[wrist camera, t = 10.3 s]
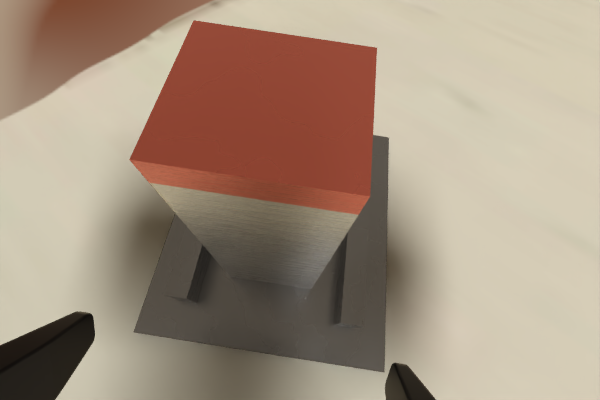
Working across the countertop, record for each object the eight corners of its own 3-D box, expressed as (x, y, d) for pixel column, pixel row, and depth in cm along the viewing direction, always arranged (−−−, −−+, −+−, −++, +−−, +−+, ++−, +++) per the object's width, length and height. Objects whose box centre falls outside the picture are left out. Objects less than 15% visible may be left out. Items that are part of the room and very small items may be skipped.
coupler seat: (382, 371, 17) (398, 377, 14) (136, 332, 17) (112, 331, 14) (387, 140, 23) (398, 118, 21) (212, 114, 23) (205, 89, 21)
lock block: (311, 289, 18) (369, 196, 6) (229, 276, 18) (129, 159, 6) (320, 216, 20) (377, 41, 8) (246, 205, 20) (196, 14, 8)
